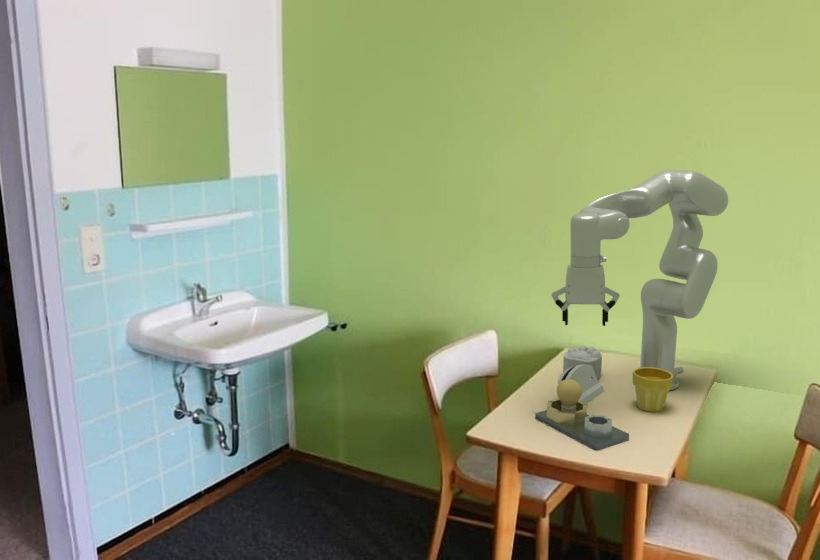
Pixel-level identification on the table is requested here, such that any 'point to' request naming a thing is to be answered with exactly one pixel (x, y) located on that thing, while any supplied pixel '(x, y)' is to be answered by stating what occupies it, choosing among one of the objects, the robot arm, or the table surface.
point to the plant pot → (652, 387)
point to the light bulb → (569, 394)
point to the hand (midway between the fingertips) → (585, 324)
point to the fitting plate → (582, 425)
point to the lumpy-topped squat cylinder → (583, 359)
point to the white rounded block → (584, 381)
